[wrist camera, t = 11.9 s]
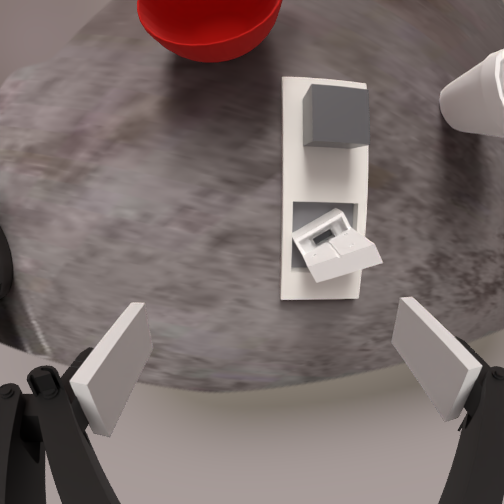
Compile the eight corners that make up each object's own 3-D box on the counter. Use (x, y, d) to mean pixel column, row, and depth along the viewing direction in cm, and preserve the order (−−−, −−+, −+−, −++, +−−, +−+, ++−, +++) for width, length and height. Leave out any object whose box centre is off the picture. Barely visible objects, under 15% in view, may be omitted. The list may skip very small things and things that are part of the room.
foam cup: (418, 108, 29) (484, 88, 16) (443, 60, 27) (504, 32, 14) (467, 157, 30) (537, 161, 17) (490, 109, 28) (554, 100, 15)
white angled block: (390, 220, 30) (382, 262, 23) (314, 249, 36) (287, 291, 30) (376, 190, 29) (365, 224, 22) (299, 223, 35) (268, 260, 29)
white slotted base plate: (279, 292, 35) (284, 326, 28) (281, 81, 29) (286, 56, 21) (353, 291, 35) (375, 322, 27) (360, 88, 29) (386, 67, 21)
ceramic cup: (328, 28, 27) (349, -15, 17) (206, 101, 30) (184, 76, 20) (261, -36, 24) (260, -83, 15) (147, 31, 27) (113, -5, 18)
